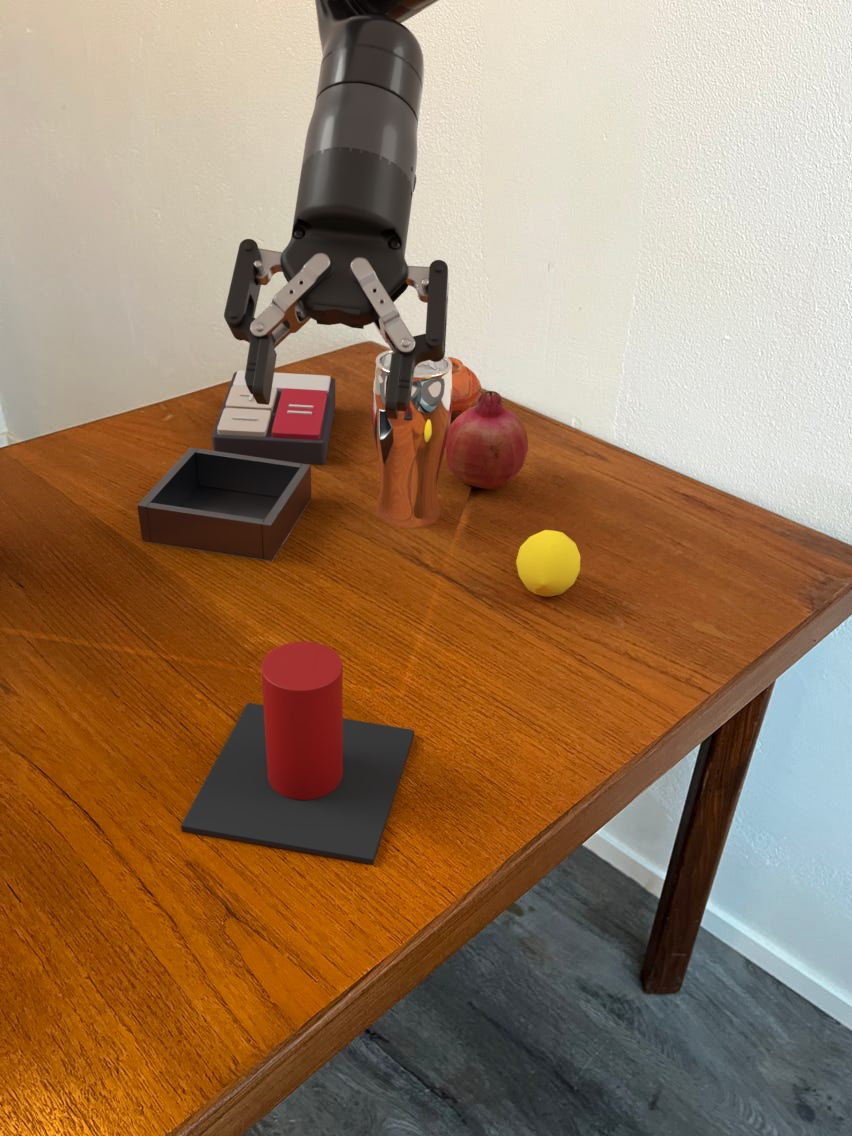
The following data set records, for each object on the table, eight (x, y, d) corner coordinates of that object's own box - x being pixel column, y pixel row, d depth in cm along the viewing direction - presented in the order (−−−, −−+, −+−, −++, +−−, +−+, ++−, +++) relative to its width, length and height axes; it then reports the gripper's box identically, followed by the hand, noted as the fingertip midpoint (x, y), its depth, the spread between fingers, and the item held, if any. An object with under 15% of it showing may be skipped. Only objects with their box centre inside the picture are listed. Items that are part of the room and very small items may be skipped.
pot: (494, 407, 116) (494, 356, 111) (458, 444, 112) (456, 393, 106) (436, 386, 119) (433, 336, 114) (398, 422, 114) (393, 371, 109)
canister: (257, 793, 64) (249, 683, 59) (281, 743, 68) (276, 635, 62) (331, 806, 63) (329, 696, 58) (350, 755, 67) (351, 647, 62)
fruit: (496, 514, 96) (506, 416, 90) (427, 488, 99) (432, 392, 94) (537, 484, 102) (549, 390, 96) (470, 460, 105) (477, 368, 99)
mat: (181, 831, 61) (180, 825, 61) (247, 707, 71) (247, 702, 71) (373, 865, 61) (373, 859, 60) (414, 735, 70) (414, 729, 70)
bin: (142, 545, 87) (137, 505, 85) (193, 485, 96) (190, 447, 94) (272, 565, 86) (270, 525, 84) (311, 502, 95) (311, 464, 93)
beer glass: (406, 542, 91) (413, 384, 82) (354, 513, 94) (356, 358, 86) (459, 518, 95) (471, 365, 86) (408, 490, 99) (414, 341, 90)
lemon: (572, 616, 83) (581, 561, 80) (508, 606, 84) (514, 551, 81) (579, 572, 89) (587, 519, 86) (518, 563, 90) (525, 510, 86)
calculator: (210, 429, 98) (233, 364, 109) (213, 468, 101) (236, 400, 112) (324, 435, 99) (335, 370, 110) (324, 474, 101) (335, 406, 113)
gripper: (240, 131, 64) (201, 371, 61) (463, 155, 64) (433, 396, 61) (263, 200, 71) (230, 417, 69) (463, 222, 71) (437, 440, 69)
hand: (326, 407), depth 65 cm, fingers open, 8 cm apart
